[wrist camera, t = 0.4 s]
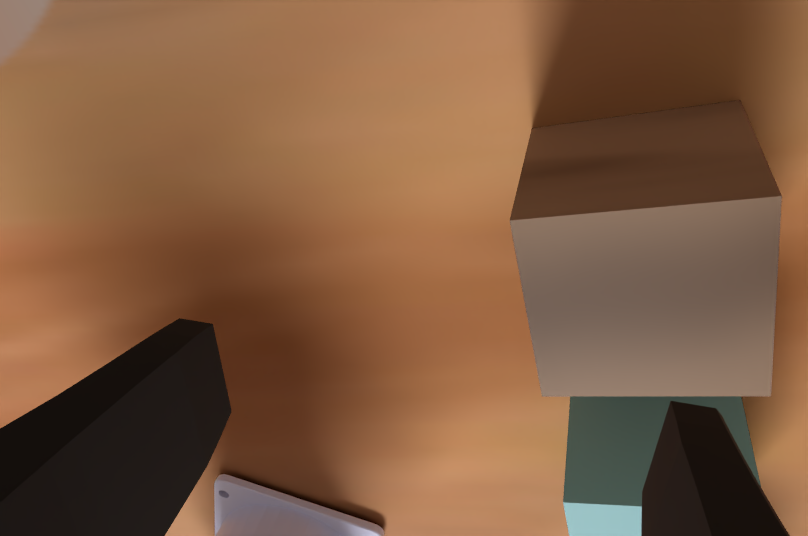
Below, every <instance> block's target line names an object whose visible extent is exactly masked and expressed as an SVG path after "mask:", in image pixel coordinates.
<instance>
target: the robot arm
mask: <svg viewBox="0 0 808 536" xmlns="http://www.w3.org/2000/svg"><path fill="white" fill-rule="evenodd" d="M230 414H231V406H230V402H229V397H228V392H227V388H226V383H225V379H224V374H223V369H222V365H221V360H220V355H219V351H218V346H217V342H216V337H215V332H214V328H213V324H210V323H204V322H198V321H192V320H186V319H178V320H176V321H174V322H173V323H171V324H169V325H168V326H166V327H164V328H163V329H161V330H159V331H158V332H156V333H155V334H153V335H151V336H150V337H148V338H147V339H145V340H144V341H142V342H140V343H139V344H137V345H136V346H134V347H133V348H131V349H130V350H128V351H126V352H125V353H123V354H122V355H120V356H119V357H117V358H116V359H114V360H112V361H111V362H109V363H108V364H106V365H105V366H103V367H102V368H100V369H98V370H97V371H95V372H94V373H92V374H90V375H89V376H87V377H86V378H84V379H83V380H81V381H79V382H78V383H76V384H75V385H73V386H71V387H70V388H68V389H67V390H65V391H64V392H62V393H60V394H59V395H57V396H55V397H54V398H52V399H50V400H49V401H47V402H45V403H43V404H42V405H40V406H38V407H37V408H35V409H33V410H31V411H30V412H28V413H26V414H25V415H23V416H21V417H19V418H18V419H16V420H14V421H13V422H11V423H9V424H8V425H6V426H4V427H2V428H1V429H0V536H165V534H166V532H167V531H168V529H169V528H170V526H171V524H172V523H173V521H174V519H175V518H176V516H177V515H178V513H179V511H180V510H181V508H182V507H183V505H184V503H185V502H186V500H187V498H188V497H189V495H190V493H191V492H192V490H193V488H194V487H195V485H196V484H197V482H198V480H199V479H200V477H201V475H202V473H203V472H204V470H205V468H206V467H207V465H208V463H209V461H210V458H211V456H212V454H213V452H214V450H215V448H216V446H217V444H218V441H219V439H220V437H221V435H222V432H223V430H224V428H225V425H226V423H227V421H228V418H229V416H230ZM214 510H215V536H384V531H383V529H382V528H381V527H380V526H379V525H377V524H374V523H371V522H368V521H365V520H362V519H359V518H356V517H353V516H350V515H347V514H344V513H341V512H338V511H335V510H332V509H329V508H326V507H323V506H320V505H317V504H314V503H311V502H308V501H305V500H302V499H299V498H296V497H293V496H290V495H287V494H284V493H281V492H278V491H275V490H272V489H269V488H266V487H263V486H260V485H257V484H254V483H251V482H248V481H245V480H242V479H239V478H236V477H233V476H230V475H226V474H221V475H219V476H218V477H217V479H216V480H215V483H214ZM641 536H790V535H789V534H788V532H787V531H786V529H785V527H784V526H783V524H782V522H781V521H780V519H779V518H778V516H777V514H776V513H775V511H774V509H773V508H772V506H771V504H770V502H769V501H768V499H767V497H766V496H765V494H764V492H763V490H762V489H761V487H760V485H759V483H758V482H757V480H756V478H755V476H754V475H753V473H752V471H751V469H750V467H749V466H748V464H747V462H746V460H745V458H744V456H743V455H742V453H741V451H740V449H739V447H738V445H737V443H736V442H735V440H734V438H733V436H732V434H731V432H730V430H729V428H728V426H727V424H726V422H725V420H724V419H723V417H722V415H721V414H720V412H719V411H718V410H717V409H716V408H712V407H706V406H700V405H694V404H688V403H682V402H676V401H670V404H669V408H668V411H667V414H666V417H665V420H664V423H663V427H662V430H661V433H660V436H659V439H658V443H657V446H656V449H655V452H654V455H653V459H652V462H651V465H650V468H649V471H648V474H647V478H646V481H645V484H644V487H643V490H642V524H641Z"/></svg>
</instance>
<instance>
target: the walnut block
mask: <svg viewBox="0 0 808 536" xmlns="http://www.w3.org/2000/svg"><path fill="white" fill-rule="evenodd" d="M781 199H782V196H781V193H780V191H779V189H778V186H777V184H776V182H775V179H774V177H773V175H772V173H771V170H770V168H769V166H768V163H767V161H766V159H765V156H764V154H763V152H762V149H761V147H760V145H759V142H758V140H757V138H756V136H755V133H754V131H753V129H752V126H751V124H750V122H749V119H748V117H747V115H746V112H745V110H744V108H743V105H742V103H741V101H740V100H737V101H730V102H722V103H715V104H708V105H700V106H693V107H685V108H678V109H671V110H663V111H656V112H649V113H641V114H634V115H626V116H619V117H612V118H604V119H597V120H590V121H582V122H575V123H567V124H560V125H553V126H545V127H538V128H532V130H531V134H530V139H529V143H528V147H527V151H526V155H525V159H524V163H523V168H522V172H521V176H520V180H519V184H518V188H517V192H516V197H515V201H514V205H513V209H512V213H511V217H510V225H511V230H512V236H513V241H514V247H515V252H516V257H517V263H518V268H519V274H520V279H521V285H522V290H523V295H524V301H525V306H526V312H527V317H528V323H529V328H530V333H531V339H532V344H533V350H534V355H535V361H536V366H537V371H538V377H539V382H540V388H541V393H542V396H771V387H772V368H773V349H774V330H775V312H776V293H777V274H778V256H779V237H780V218H781Z"/></svg>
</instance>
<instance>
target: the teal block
mask: <svg viewBox="0 0 808 536" xmlns="http://www.w3.org/2000/svg"><path fill="white" fill-rule="evenodd" d="M670 401H676V402H682V403H688V404H694V405H700V406H706V407H712V408H716V409H717V410H718V411H719V412H720V414H721V415H722V417H723V419H724V420H725V422H726V424H727V426H728V428H729V430H730V432H731V434H732V436H733V438H734V440H735V442H736V443H737V445H738V447H739V449H740V451H741V453H742V455H743V456H744V458H745V460H746V462H747V464H748V466H749V467H750V469H751V471H752V473H753V475H754V476H755V478H756V480H757V482H758V483H759V485H760V480H759V476H758V471H757V467H756V462H755V457H754V453H753V448H752V444H751V439H750V435H749V430H748V425H747V421H746V416H745V412H744V407H743V402H742V398H741V396H570V410H569V425H568V439H567V454H566V469H565V483H564V498H563V504H564V510H565V515H566V521H567V526H568V531H569V536H641V524H642V490H643V487H644V484H645V481H646V478H647V474H648V471H649V468H650V465H651V462H652V459H653V455H654V452H655V449H656V446H657V443H658V439H659V436H660V433H661V430H662V427H663V423H664V420H665V417H666V414H667V411H668V408H669V404H670ZM760 487H761V485H760Z"/></svg>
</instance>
